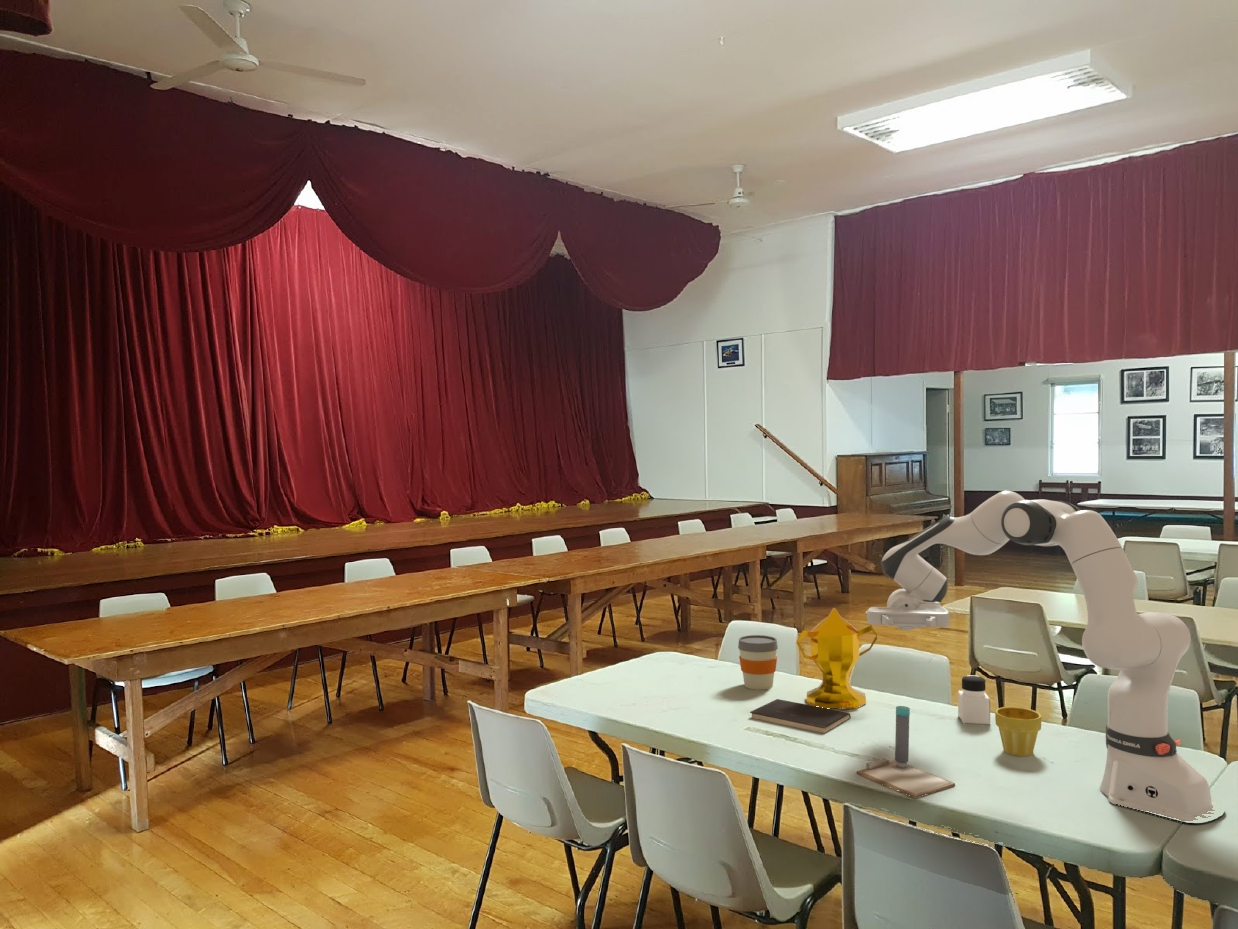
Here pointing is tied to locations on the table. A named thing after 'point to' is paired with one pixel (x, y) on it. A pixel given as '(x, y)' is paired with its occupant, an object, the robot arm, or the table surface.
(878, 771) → the clipboard
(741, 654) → the reusable coffee cup
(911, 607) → the robot arm
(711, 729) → the table surface
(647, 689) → the table surface
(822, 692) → the trophy cup
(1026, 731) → the plant pot
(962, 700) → the medicine bottle
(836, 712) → the hardcover book
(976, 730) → the table surface
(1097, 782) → the table surface
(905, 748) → the marker
